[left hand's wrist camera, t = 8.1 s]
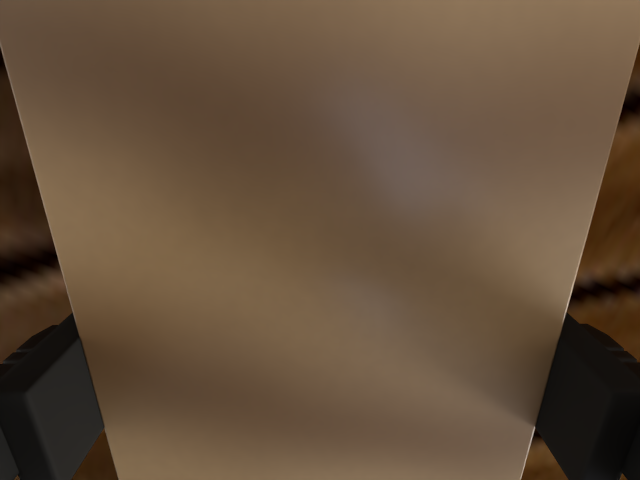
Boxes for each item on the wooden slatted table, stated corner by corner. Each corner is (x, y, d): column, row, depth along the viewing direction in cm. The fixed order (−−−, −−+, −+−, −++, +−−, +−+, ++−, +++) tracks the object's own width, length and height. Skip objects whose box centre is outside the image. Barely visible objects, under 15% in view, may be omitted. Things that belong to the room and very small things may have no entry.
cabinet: (142, -270, 12) (-383, -1339, 3) (496, -270, 12) (1019, -1335, 3) (211, 309, 19) (120, 492, 10) (427, 309, 19) (518, 492, 10)
